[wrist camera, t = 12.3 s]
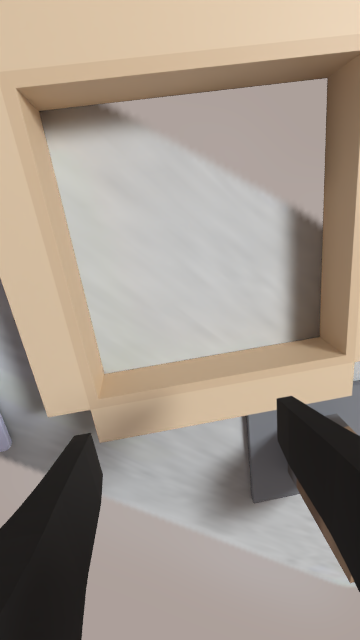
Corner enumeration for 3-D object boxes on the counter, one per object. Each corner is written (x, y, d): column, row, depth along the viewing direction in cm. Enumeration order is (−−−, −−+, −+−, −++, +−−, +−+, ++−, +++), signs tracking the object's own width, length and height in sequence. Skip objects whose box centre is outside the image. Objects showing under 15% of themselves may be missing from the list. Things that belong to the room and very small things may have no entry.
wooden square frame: (70, 419, 22) (59, 450, 19) (-48, 41, 14) (-96, -2, 11) (357, 367, 23) (387, 389, 20) (387, -2, 16) (441, -49, 13)
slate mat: (252, 498, 26) (254, 503, 26) (245, 401, 23) (247, 405, 22) (361, 475, 27) (365, 480, 26) (370, 378, 23) (375, 381, 23)
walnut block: (287, 472, 25) (350, 582, 18) (287, 423, 23) (355, 522, 16) (334, 462, 25) (414, 567, 18) (336, 413, 24) (427, 506, 16)
